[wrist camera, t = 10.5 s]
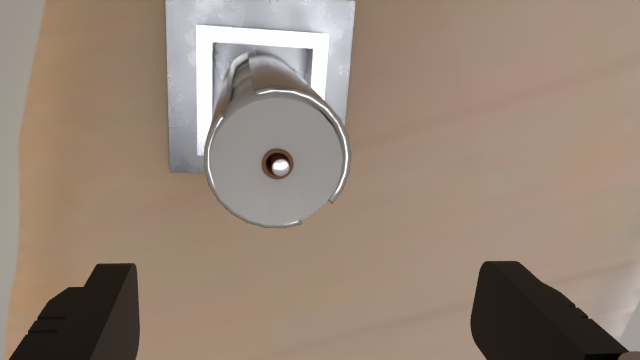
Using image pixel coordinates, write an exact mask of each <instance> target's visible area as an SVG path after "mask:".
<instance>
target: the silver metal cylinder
mask: <svg viewBox="0 0 640 360" xmlns="http://www.w3.org/2000/svg"><path fill="white" fill-rule="evenodd" d="M350 162H351V149H350V142H349V136H348V134H347V132H346V129H345V127H344V125H343V123H342V121H341V119H340V118H339V116H338V115H337V114H336V113H335V112H334V110H333V109H332V108H331V107H330V106H329V105H328V104H327V103H326V102H325V101H324V100H323V99H322V98H321V96H320V95H319V94H318V93H317V92H316V91H315V90H314V89H313V88H312V87H311V86H310V85H309V84H308V83H307V82H306V81H305V80H304V79H303V78H302V77H301V76H300V75H299V74H298V73H297V72H296V71H295V70H294V69H293V68H292V67H291V66H290V65H289V64H288V63H287V62H286V61H285V60H284V59H282V58H281V57H279V56H278V55H277V54H274V53H271V52H269V51H263V50H255V51H249V52H246V53H244V54H242V55H240V56H238V57H237V58H236V59H235V60H234V61H233V62H232V63H231V64H230V66H229V67H228V69H227V71H226V74H225V77H224V80H223V84H222V87H221V91H220V94H219V97H218V101H217V104H216V108H215V111H214V115H213V118H212V121H211V125H210V128H209V132H208V135H207V139H206V142H205V146H204V170H205V173H206V177H207V181H208V184H209V186H210V188H211V190H212V191H213V193H214V195H215V196H216V198H217V200H218V201H219V202H220V203H221V204H222V205H223V206H224V207H225V208H226V209H227V210H228V211H229V212H230V213H231V214H233V215H234V216H236V217H238V218H240V219H242V220H243V221H245V222H247V223H250V224H253V225H257V226H261V227H265V228H287V227H291V226H296V225H300V224H302V222H301V220H302V219H304V218H306V217H308V216H310V215H312V214H314V213H315V212H316V211H317V210H319V209H320V208H321V207H322V206H323V205H324V204H325V203H326V202H327V201H330V202H331V203H332V204H333V203H334V201H335V200H336V198H337V197H338V196H339V194H340V193H341V191H342V190H343V188H344V185H345V183H346V180H347V177H348V175H349V171H350Z"/></svg>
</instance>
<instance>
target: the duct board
mask: <svg viewBox="0 0 640 360" xmlns="http://www.w3.org/2000/svg"><path fill="white" fill-rule="evenodd" d="M354 12H355V1H344V0H166V38H167V78H168V118H169V159H170V172H177V173H205V170H204V146H205V142H206V139H207V135H208V132H209V128H210V125H211V121H212V118H213V115H214V111H215V108H216V104H217V101H218V97H219V94H220V91H221V87H222V84H223V80H224V77H225V74H226V71H227V69H228V67H229V66H230V64H231V63H232V62H233V61H234V60H235V59H236V58H237V57H238V56H240V55H242V54H244V53H246V52H249V51H255V50H263V51H269V52H271V53H274V54H277V55H278V56H279V57H281V58H282V59H284V60H285V61H286V62H287V63H288V64H289V65H290V66H291V67H292V68H293V69H294V70H295V71H296V72H297V73H298V74H299V75H300V76H301V77H302V78H303V79H304V80H305V81H306V82H307V83H308V84H309V85H310V86H311V87H312V88H313V89H314V90H315V91H316V92H317V93H318V94H319V95H320V96H321V98H322V99H323V100H324V101H325V102H326V103H327V104H328V105H329V106H330V107H331V108H332V109H333V110H334V112H335V113H336V114H337V115H338V116H339V118H340V119H341V121H342V123H343V125H344V127H345V116H346V105H347V93H348V81H349V70H350V58H351V47H352V35H353V23H354Z"/></svg>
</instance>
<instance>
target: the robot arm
mask: <svg viewBox="0 0 640 360" xmlns="http://www.w3.org/2000/svg"><path fill="white" fill-rule="evenodd" d="M471 332H472V336H473V339H474V342H475V344H476V345H477V347H478V348H479V349H480V351H481V352H482V354H483V355H484V356H485V358H486V359H487V360H640V352H638V351H636V352H635V351H634V352H629V351H628V350H627V349H626V348H625V347H623V346H622V345H621V344H620V343H619V342H618V341H617V340H615V339H614V338H613V337H612V336H611V335H610V334H608V333H607V332H606V331H605V330H604V329H603V328H601V327H600V326H599V325H598V324H597V323H596V322H594V321H593V320H592V319H588V316H587V315H586V314H585V313H584V312H583V311H582V310H581V309H579V308H576V307H575V304H574V303H572V302H571V301H570V300H569V299H568V298H567V297H565V296H564V295H563V294H562V293H561V292H559V291H557V290H556V289H554V288H552V287H550V286H548V285H546V284H544V283H542V282H541V281H540V280H539V279H537V278H536V277H535V276H534V275H533V274H532V273H531V272H530V271H528V270H527V269H526V268H525V267H524V266H523V265H522V264H520V263H519V262H517V261H486V262H484V263H483V264H482V266H481V268H480V272H479V277H478V282H477V287H476V293H475V298H474V303H473V309H472V314H471ZM139 335H140V323H139V302H138V282H137V269H136V265H135V264H134V263H119V264H97V265H96V266H95V268H94V270H93V272H92V273H91V275H90V277H89V278H88V280H87V282H86V284H85V285H84V287H68V288H67V289H65V290H64V291H63V292H61V293H60V294H58V295H57V296H55V297H54V298H52V299H51V300H50V301H48V303H47V304H46V306H45V307H44V309H43V310H42V312H41V313H40V314H39V316H38V319H37V321H35V322H34V323H33V325H32V326H31V328H30V329H29V331H28V335H25V337H24V338H23V340H22V341H21V343H20V344H19V345H18V347H17V348H16V350H15V351H14V353H13V354H12V356H11V357H10V359H9V360H136V356H137V352H138V346H139Z"/></svg>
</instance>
